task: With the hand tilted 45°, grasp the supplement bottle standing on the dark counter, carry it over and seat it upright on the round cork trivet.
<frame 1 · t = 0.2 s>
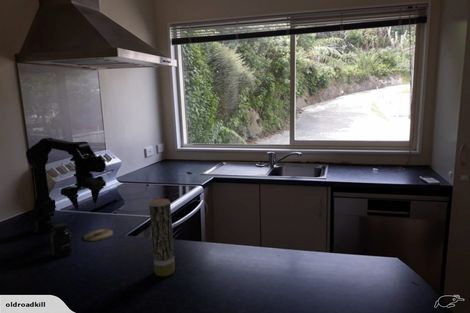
hand: (86, 206, 148), 14 cm above the worktop, tool pointing down, fingers open, 9 cm apart
pale patterned cylinder: (165, 272, 116), on the worktop
supplement bottle: (63, 254, 133), on the worktop
cork trivet: (98, 235, 151), on the worktop
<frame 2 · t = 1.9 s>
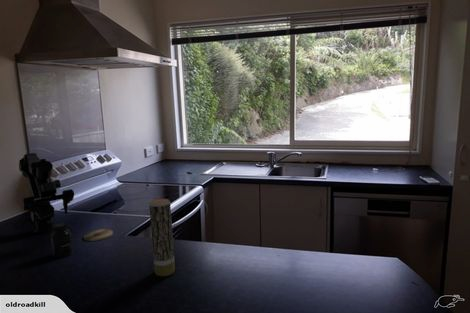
hand: (54, 216, 137), 13 cm above the worktop, tool tilted 45°, fingers open, 9 cm apart
nothing on the worktop moved.
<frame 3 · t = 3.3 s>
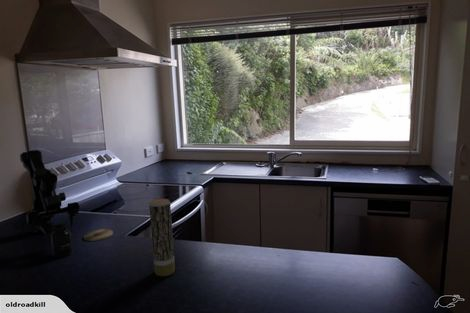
hand: (59, 230, 133), 9 cm above the worktop, tool tilted 45°, fingers open, 9 cm apart
nothing on the worktop moved.
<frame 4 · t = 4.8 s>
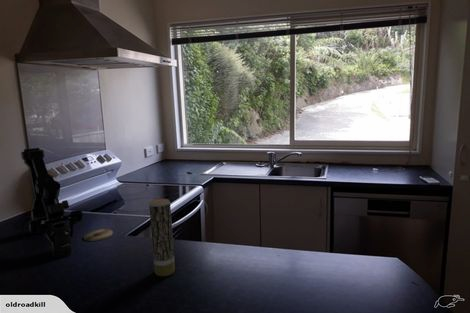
hand: (62, 239, 131), 7 cm above the worktop, tool tilted 45°, fingers closed on supplement bottle, 7 cm apart
supplement bottle: (63, 254, 133), on the worktop, touching gripper
everything else where it was.
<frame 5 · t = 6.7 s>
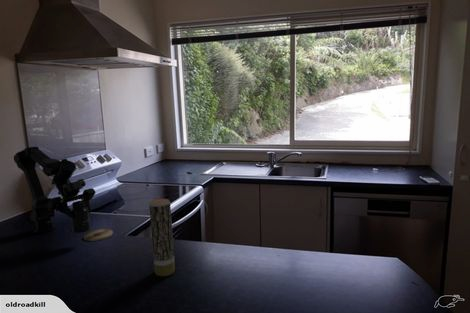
hand: (81, 215, 138), 13 cm above the worktop, tool tilted 45°, fingers closed on supplement bottle, 7 cm apart
supplement bottle: (81, 230, 140), point 6 cm above the worktop, touching gripper
everything else where it was.
when the fingers open (9 cm above the worktop, at t = 9.1 s): supplement bottle drops 1 cm, resting on cork trivet.
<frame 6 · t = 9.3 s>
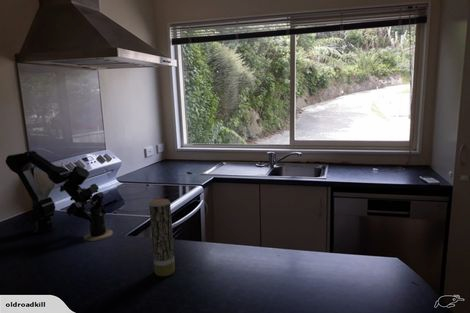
hand: (99, 217, 149), 9 cm above the worktop, tool tilted 45°, fingers open, 9 cm apart
supplement bottle: (98, 234, 151), point 1 cm above the worktop, touching cork trivet
everything else where it was.
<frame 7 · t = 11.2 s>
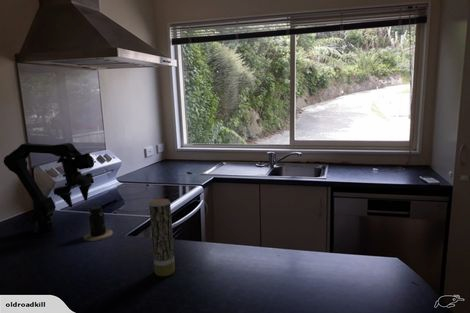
hand: (78, 203, 156), 13 cm above the worktop, tool pointing down, fingers open, 9 cm apart
nothing on the worktop moved.
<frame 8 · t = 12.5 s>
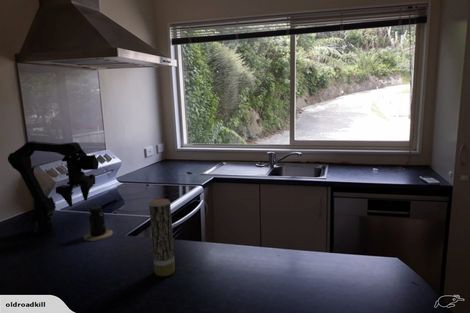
hand: (78, 203, 156), 13 cm above the worktop, tool pointing down, fingers open, 9 cm apart
nothing on the worktop moved.
at the end: supplement bottle inside the target area on the cork trivet (0.2 cm from its centre), point 0.7 cm above the cork trivet's base; supplement bottle tilted 0°; the gripper is holding nothing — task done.
